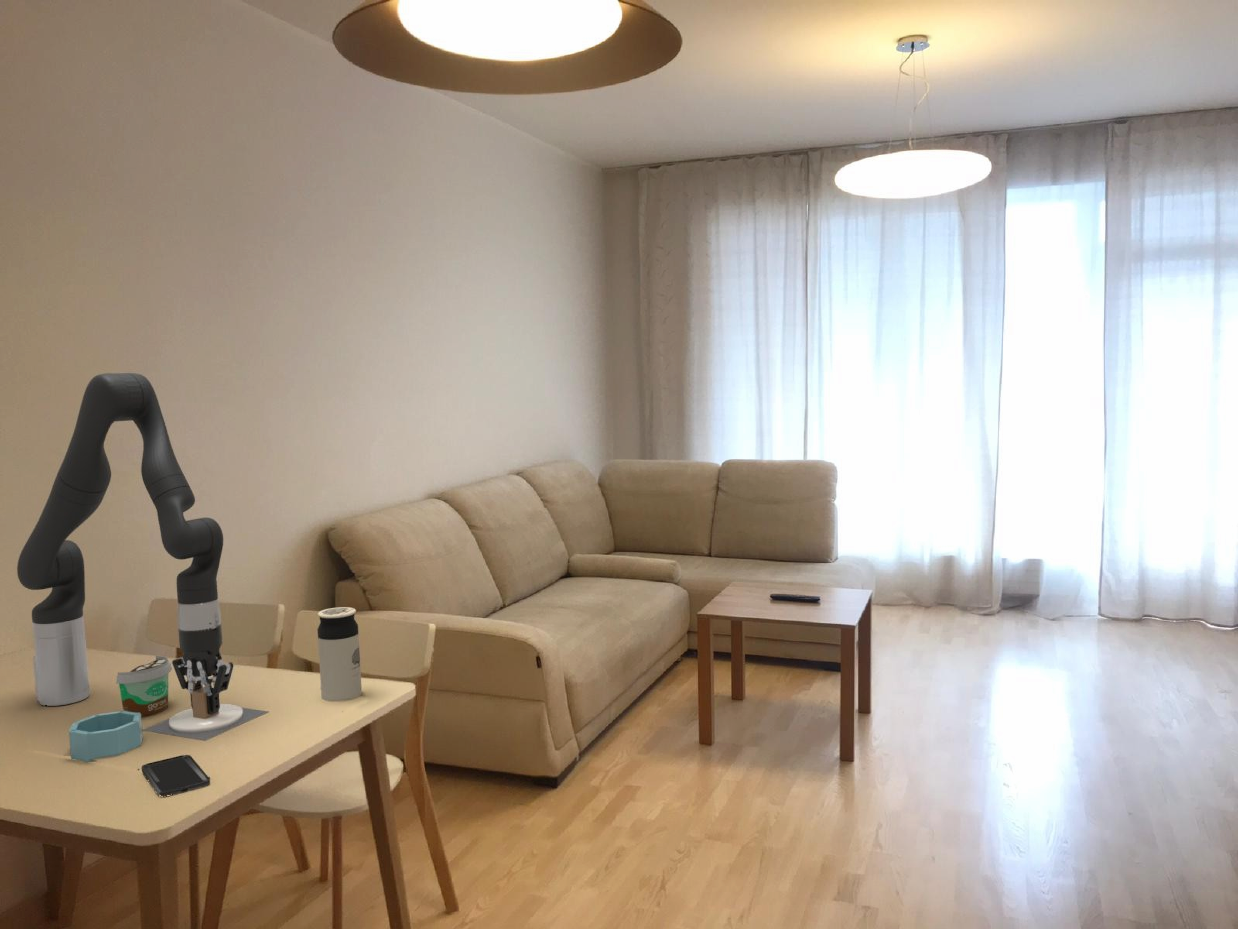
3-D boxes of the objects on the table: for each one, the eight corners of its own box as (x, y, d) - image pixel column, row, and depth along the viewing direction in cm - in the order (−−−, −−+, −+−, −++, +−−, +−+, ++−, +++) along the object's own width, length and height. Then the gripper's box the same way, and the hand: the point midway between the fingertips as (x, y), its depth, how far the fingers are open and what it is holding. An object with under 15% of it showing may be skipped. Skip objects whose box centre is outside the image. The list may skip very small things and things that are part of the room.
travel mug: (313, 702, 198) (308, 614, 197) (337, 689, 206) (332, 605, 204) (346, 705, 195) (341, 617, 194) (369, 693, 203) (365, 607, 201)
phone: (188, 753, 171) (211, 780, 159) (189, 760, 171) (211, 787, 159) (139, 765, 166) (158, 794, 154) (139, 771, 166) (159, 800, 154)
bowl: (58, 756, 173) (56, 729, 172) (113, 734, 183) (111, 708, 182) (102, 765, 168) (100, 736, 168) (155, 742, 179) (153, 715, 178)
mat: (141, 733, 183) (141, 730, 183) (208, 705, 198) (208, 702, 198) (205, 743, 177) (205, 740, 177) (269, 714, 192) (269, 711, 191)
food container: (147, 725, 188) (143, 674, 187) (119, 723, 189) (115, 673, 188) (188, 703, 200) (184, 655, 199) (161, 702, 201) (157, 654, 200)
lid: (153, 728, 184) (151, 697, 184) (207, 706, 196) (205, 676, 195) (205, 736, 179) (202, 704, 178) (257, 713, 191) (255, 683, 190)
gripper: (156, 625, 185) (163, 714, 187) (212, 631, 179) (218, 723, 181) (188, 616, 192) (194, 702, 194) (242, 621, 186) (248, 709, 188)
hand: (206, 711), depth 187 cm, fingers closed on lid, 3 cm apart
